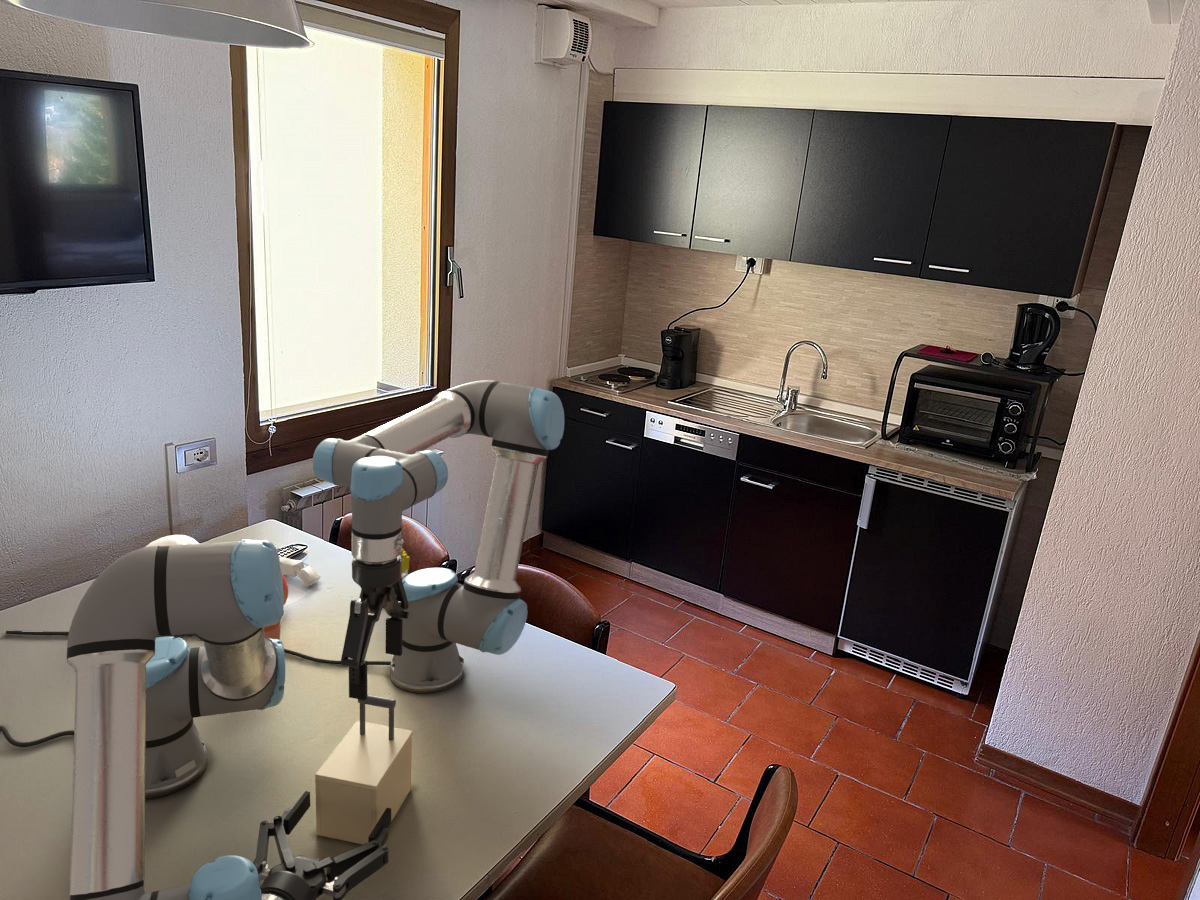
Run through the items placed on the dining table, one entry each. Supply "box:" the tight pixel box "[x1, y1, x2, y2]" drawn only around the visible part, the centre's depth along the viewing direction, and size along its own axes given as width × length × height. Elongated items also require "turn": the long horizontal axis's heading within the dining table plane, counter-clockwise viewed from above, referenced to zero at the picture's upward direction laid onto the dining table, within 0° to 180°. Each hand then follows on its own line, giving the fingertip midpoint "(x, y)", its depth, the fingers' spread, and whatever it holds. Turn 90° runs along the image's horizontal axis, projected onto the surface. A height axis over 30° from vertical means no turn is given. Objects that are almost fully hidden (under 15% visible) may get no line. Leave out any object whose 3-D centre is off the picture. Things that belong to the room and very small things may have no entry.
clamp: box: [274, 544, 322, 587], centre depth 219 cm, size 20×4×7 cm, turn 62°
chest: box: [314, 736, 413, 845], centre depth 141 cm, size 14×10×11 cm
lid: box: [314, 694, 414, 790], centre depth 138 cm, size 15×10×8 cm
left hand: (348, 806), depth 134 cm, fingers open, 13 cm apart
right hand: (376, 674), depth 139 cm, fingers open, 13 cm apart
